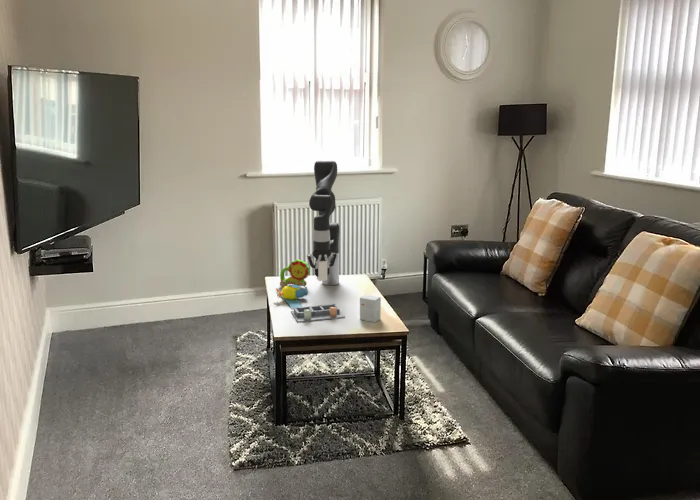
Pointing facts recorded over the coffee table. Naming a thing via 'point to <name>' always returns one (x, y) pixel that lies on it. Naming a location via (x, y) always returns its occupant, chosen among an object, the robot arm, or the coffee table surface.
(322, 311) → the grey compartment tray
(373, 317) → the small box
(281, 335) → the coffee table surface
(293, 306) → the blue yellow plastic figure
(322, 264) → the plug
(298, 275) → the toy lion
